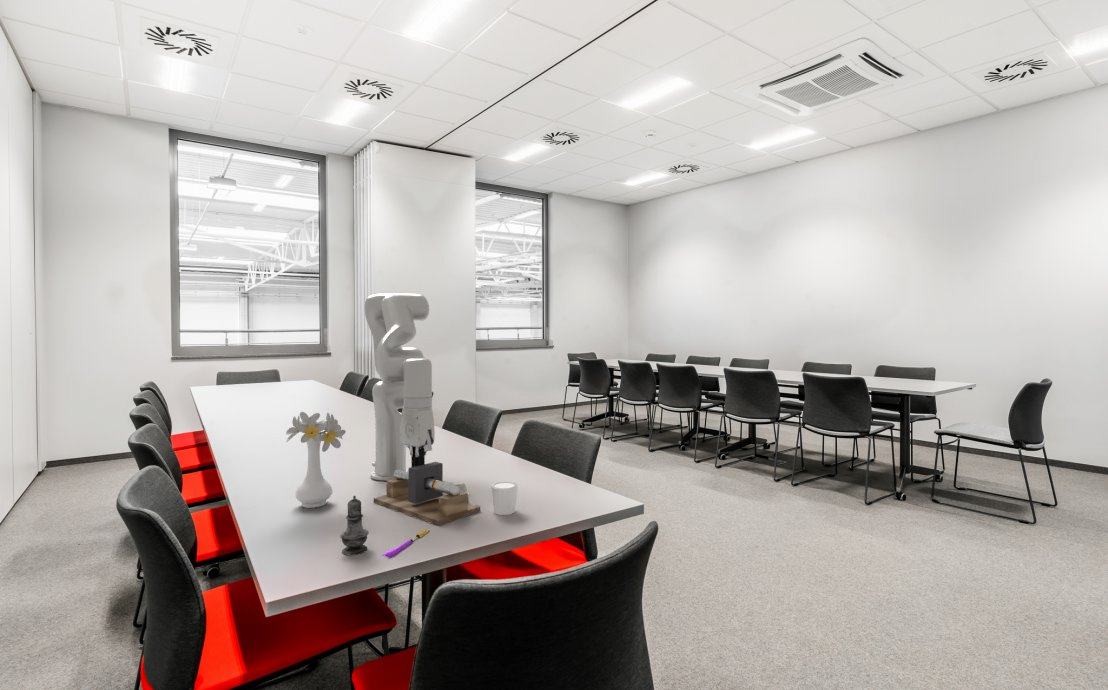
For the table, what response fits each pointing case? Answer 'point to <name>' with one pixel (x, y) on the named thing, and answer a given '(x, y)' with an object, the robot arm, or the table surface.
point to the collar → (417, 481)
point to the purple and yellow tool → (403, 545)
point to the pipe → (431, 483)
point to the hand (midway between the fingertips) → (418, 470)
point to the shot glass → (504, 497)
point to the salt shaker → (354, 530)
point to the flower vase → (315, 456)
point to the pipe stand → (426, 504)
